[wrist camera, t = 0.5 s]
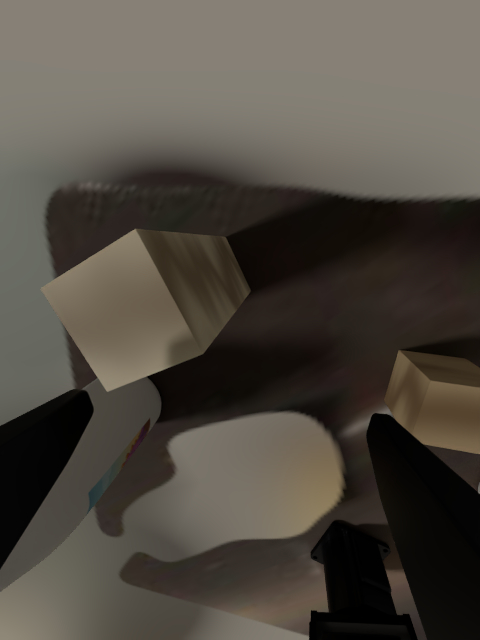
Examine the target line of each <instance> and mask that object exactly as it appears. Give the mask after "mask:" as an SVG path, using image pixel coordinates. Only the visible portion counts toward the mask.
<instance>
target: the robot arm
mask: <svg viewBox="0 0 480 640" xmlns="http://www.w3.org/2000/svg"><path fill="white" fill-rule="evenodd" d="M93 413H94V407H93V404H92V401H91V399H90V396H89V394H88V392H87V391H86V390H81V389H73V390H70V391H68V392H66V393H64V394H62V395H60V396H58V397H56V398H54V399H52V400H50V401H48V402H46V403H45V404H43V405H41V406H39V407H37V408H35V409H33V410H31V411H29V412H27V413H25V414H23V415H21V416H19V417H17V418H15V419H13V420H11V421H9V422H7V423H5V424H3V425H1V426H0V569H1V568H2V566H3V565H4V563H5V561H6V560H7V558H8V557H9V555H10V554H11V552H12V550H13V549H14V547H15V546H16V544H17V542H18V541H19V539H20V538H21V536H22V535H23V533H24V531H25V530H26V528H27V527H28V525H29V523H30V522H31V520H32V519H33V517H34V516H35V514H36V512H37V511H38V509H39V508H40V506H41V504H42V503H43V501H44V500H45V498H46V497H47V495H48V493H49V492H50V490H51V489H52V487H53V485H54V484H55V482H56V481H57V479H58V478H59V476H60V474H61V473H62V471H63V470H64V468H65V466H66V465H67V463H68V461H69V460H70V458H71V456H72V454H73V452H74V450H75V448H76V447H77V445H78V443H79V441H80V439H81V437H82V435H83V433H84V431H85V429H86V427H87V425H88V423H89V421H90V419H91V418H92V416H93ZM366 438H367V444H368V448H369V453H370V457H371V461H372V466H373V470H374V475H375V479H376V483H377V488H378V492H379V496H380V499H381V503H382V506H383V509H384V512H385V515H386V518H387V521H388V524H389V527H390V530H391V533H392V536H393V539H394V542H395V545H396V548H397V551H398V554H399V557H400V560H401V563H402V566H403V569H404V572H405V575H406V578H407V581H408V584H409V587H410V590H411V593H412V596H413V599H414V602H415V605H416V608H417V611H418V614H419V617H420V620H421V623H422V626H423V629H424V632H425V635H426V638H427V640H480V494H479V493H478V492H477V491H476V490H475V489H474V488H473V487H471V486H470V485H469V484H468V483H467V482H466V481H465V480H463V479H462V478H461V477H460V476H459V475H458V474H457V473H455V472H454V471H453V470H452V469H451V468H450V467H449V466H447V465H446V464H445V463H444V462H443V461H442V460H441V459H439V458H438V457H437V456H436V455H435V454H434V453H433V452H431V451H430V450H429V449H428V448H427V447H426V446H425V445H423V444H422V443H421V442H420V441H419V440H418V439H417V438H415V437H414V436H413V435H412V434H411V433H410V432H409V431H407V430H406V429H405V428H404V427H403V426H402V425H401V424H399V423H398V422H397V421H396V420H395V419H394V418H393V417H391V416H390V415H388V414H378V413H375V414H373V415H372V417H371V420H370V423H369V426H368V430H367V434H366ZM390 552H391V551H390V548H389V545H387V544H386V543H383V542H381V541H379V540H376V539H374V538H372V537H370V536H367V535H365V534H363V533H360V532H358V531H356V530H353V529H351V528H349V527H347V526H344V525H342V524H340V523H337V522H333V523H332V524H331V525H330V526H329V528H328V529H327V531H326V532H325V533H324V535H323V536H322V537H321V539H320V540H319V541H318V543H317V544H316V546H315V547H314V548H313V550H312V551H311V558H312V559H313V560H315V561H317V562H319V563H321V564H324V573H325V582H326V591H327V600H328V609H329V613H328V612H317V611H312V610H311V622H310V623H309V640H418V639H417V636H416V633H415V630H414V627H413V624H412V621H411V618H410V615H409V614H403V615H397V613H396V610H395V606H394V603H393V599H392V596H391V587H390V584H389V580H388V577H387V574H386V570H385V567H384V563H383V560H384V559H385V558H386V556H387V555H388V554H389V553H390Z"/></svg>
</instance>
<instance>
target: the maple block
mask: <svg viewBox="0 0 480 640" xmlns="http://www.w3.org/2000/svg"><path fill="white" fill-rule="evenodd" d="M41 291H42V292H43V294H44V295H45V297H46V298H47V300H48V301H49V303H50V305H51V306H52V308H53V309H54V311H55V312H56V314H57V315H58V317H59V318H60V320H61V322H62V323H63V325H64V326H65V328H66V329H67V331H68V332H69V334H70V335H71V337H72V338H73V340H74V342H75V343H76V345H77V346H78V348H79V349H80V351H81V352H82V354H83V355H84V357H85V359H86V360H87V362H88V363H89V365H90V366H91V368H92V369H93V371H94V372H95V374H96V376H97V377H98V379H99V380H100V382H101V383H102V385H103V386H104V388H105V389H106V391H107V392H108V391H111V390H113V389H116V388H118V387H121V386H123V385H126V384H128V383H131V382H134V381H136V380H139V379H141V378H144V377H146V376H149V375H151V374H154V373H156V372H159V371H162V370H164V369H167V368H169V367H172V366H174V365H177V364H179V363H182V362H184V361H187V360H189V359H192V358H195V357H197V356H200V355H202V354H204V352H205V351H206V350H207V348H208V347H209V346H210V344H211V343H212V342H213V340H214V339H215V338H216V336H217V335H218V334H219V333H220V331H221V330H222V329H223V327H224V326H225V325H226V323H227V322H228V321H229V319H230V318H231V317H232V315H233V314H234V313H235V312H236V310H237V309H238V308H239V306H240V305H241V304H242V302H243V301H244V300H245V298H246V297H247V296H248V294H249V293H250V292H251V290H250V288H249V286H248V284H247V281H246V279H245V277H244V275H243V273H242V271H241V269H240V267H239V264H238V262H237V260H236V258H235V256H234V254H233V252H232V249H231V247H230V245H229V243H228V241H227V239H226V237H220V236H209V235H197V234H186V233H175V232H164V231H153V230H142V229H135V230H133V231H131V232H130V233H128V234H127V235H125V236H123V237H122V238H120V239H119V240H117V241H115V242H114V243H112V244H111V245H109V246H107V247H106V248H104V249H103V250H101V251H99V252H98V253H96V254H95V255H93V256H91V257H90V258H88V259H87V260H85V261H83V262H82V263H80V264H79V265H77V266H75V267H74V268H72V269H71V270H69V271H67V272H66V273H64V274H63V275H61V276H59V277H58V278H56V279H55V280H53V281H51V282H50V283H48V284H47V285H45V286H43V287H42V288H41Z"/></svg>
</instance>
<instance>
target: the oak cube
mask: <svg viewBox="0 0 480 640" xmlns="http://www.w3.org/2000/svg"><path fill="white" fill-rule="evenodd" d="M384 401H385V403H386V404H387V406H388V407H389V409H390V411H391V412H392V414H393V416H394V417H395V419H396V421H397V422H398V423H399V424H401V425H402V426H403V427H404V428H405V429H406V430H407V431H409V432H410V433H411V434H412V435H413V436H414V437H415V438H417V439H418V440H419V441H420V442H421V443H422V444H426V445H431V446H437V447H442V448H448V449H454V450H459V451H465V452H470V453H476V454H480V368H479V367H478V366H476V365H475V364H473V363H472V362H470V361H469V360H467V359H465V358H457V357H450V356H442V355H434V354H426V353H418V352H411V351H403V350H399V352H398V355H397V358H396V362H395V365H394V369H393V372H392V375H391V379H390V382H389V386H388V389H387V393H386V396H385V399H384Z"/></svg>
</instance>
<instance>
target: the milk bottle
mask: <svg viewBox="0 0 480 640" xmlns="http://www.w3.org/2000/svg"><path fill="white" fill-rule="evenodd" d="M82 390H86V391H87V392H88V394H89V396H90V399H91V401H92V404H93V407H94V413H93V416H92V418H91V419H90V421H89V423H88V425H87V427H86V429H85V431H84V433H83V435H82V437H81V439H80V441H79V443H78V445H77V447H76V448H75V450H74V452H73V454H72V456H71V458H70V460H69V461H68V463H67V465H66V466H65V468H64V470H63V471H62V473H61V474H60V476H59V478H58V479H57V481H56V482H55V484H54V485H53V487H52V489H51V490H50V492H49V493H48V495H47V497H46V498H45V500H44V501H43V503H42V504H41V506H40V508H39V509H38V511H37V512H36V514H35V516H34V517H33V519H32V520H31V522H30V523H29V525H28V527H27V528H26V530H25V531H24V533H23V535H22V536H21V538H20V539H19V541H18V542H17V544H16V546H15V547H14V549H13V550H12V552H11V554H10V555H9V557H8V558H7V560H6V561H5V563H4V565H3V566H2V568H1V569H0V592H1V591H2V590H3V589H5V588H6V587H7V586H8V585H10V584H11V583H12V582H14V581H15V580H17V579H18V578H19V577H21V576H22V575H23V574H25V573H26V572H28V571H29V570H30V569H32V568H33V567H34V566H36V565H37V564H38V563H40V562H41V561H42V560H44V559H45V558H46V557H47V556H48V555H50V554H51V553H52V552H53V551H54V550H55V549H56V548H57V547H58V546H59V545H60V544H61V543H62V542H63V541H64V540H65V539H66V538H67V537H68V536H69V535H70V534H71V533H72V532H73V530H74V529H75V528H76V527H77V526H78V525H79V524H80V522H81V521H82V520H83V519H84V517H85V516H86V515H87V514H88V512H89V511H90V510H91V508H92V507H93V506H94V505H95V504H96V502H97V501H98V500H99V498H100V497H101V496H102V494H103V493H104V492H105V490H106V489H107V488H108V486H109V485H110V484H111V482H112V481H113V480H114V478H115V477H116V476H117V474H118V473H119V472H120V470H121V469H122V468H123V466H124V465H125V463H126V462H127V461H128V459H129V458H130V457H131V455H132V454H133V453H134V451H135V450H136V449H137V447H138V446H139V445H140V443H141V442H142V440H143V439H144V438H145V436H146V435H147V434H148V432H149V431H150V430H151V428H152V427H153V425H154V424H155V422H156V421H157V419H158V418H159V416H160V412H161V404H162V403H161V397H160V394H159V391H158V390H157V388H156V386H155V385H154V384H153V382H152V381H151V380H150V379H148V378H147V377H144V378H141V379H139V380H136V381H134V382H131V383H128V384H126V385H123V386H121V387H118V388H116V389H113V390H111V391H108V392H107V391H106V389H105V388H104V386H103V385H102V383H101V382H100V380H99V379H98V378H97V379H96V380H94V381H93V382H92V383H90V384H89V385H87V386H86V387H84V388H83V389H82Z"/></svg>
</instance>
